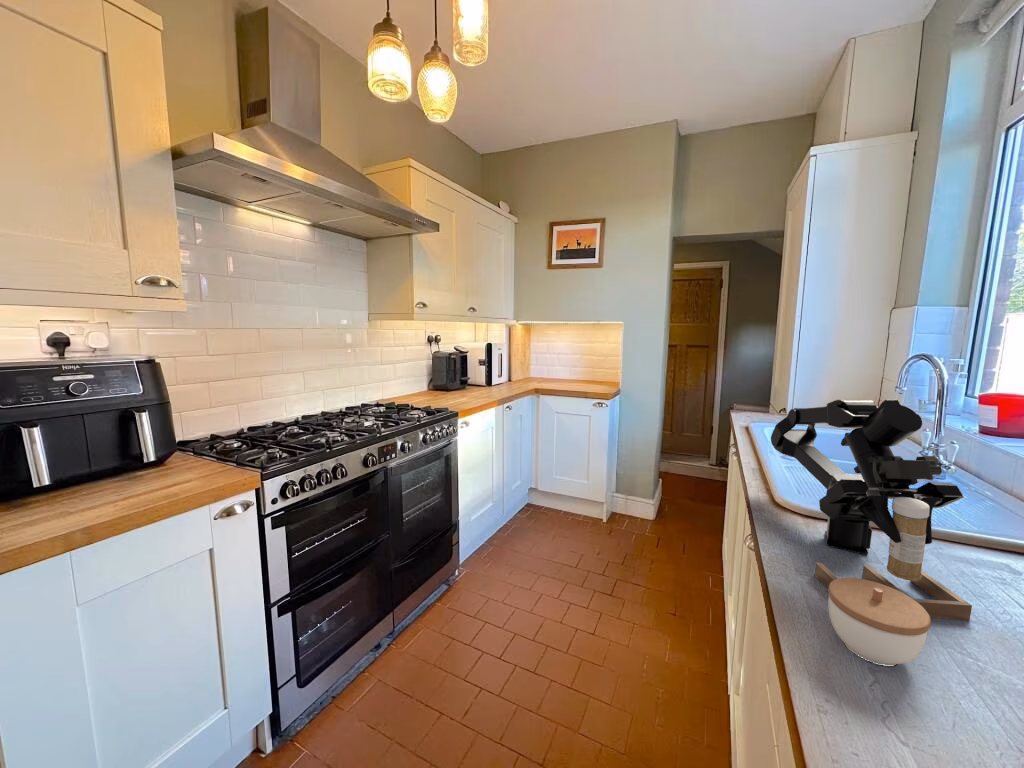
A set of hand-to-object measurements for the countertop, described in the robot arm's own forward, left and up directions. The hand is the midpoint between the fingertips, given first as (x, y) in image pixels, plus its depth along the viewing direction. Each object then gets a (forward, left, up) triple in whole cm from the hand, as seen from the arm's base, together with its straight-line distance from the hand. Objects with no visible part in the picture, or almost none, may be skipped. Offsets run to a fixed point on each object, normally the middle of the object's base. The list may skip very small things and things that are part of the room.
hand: (913, 543), depth 69 cm
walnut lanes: (-3, -3, -9) cm, 10 cm away
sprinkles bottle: (0, +1, -7) cm, 7 cm away
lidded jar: (-7, -19, -9) cm, 22 cm away
